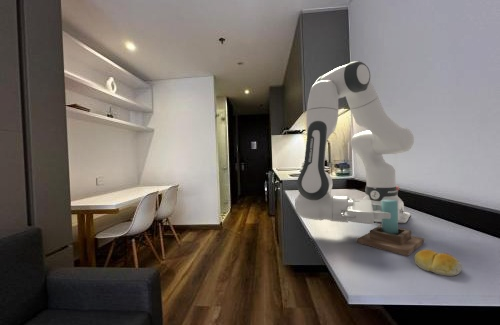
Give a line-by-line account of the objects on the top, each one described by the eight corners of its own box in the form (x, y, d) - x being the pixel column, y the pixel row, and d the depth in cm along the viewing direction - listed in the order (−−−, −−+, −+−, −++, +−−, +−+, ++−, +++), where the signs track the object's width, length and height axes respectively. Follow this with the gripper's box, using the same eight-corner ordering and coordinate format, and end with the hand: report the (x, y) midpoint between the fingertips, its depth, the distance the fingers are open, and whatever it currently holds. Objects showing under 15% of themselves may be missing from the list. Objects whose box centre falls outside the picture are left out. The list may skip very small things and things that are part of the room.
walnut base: (377, 232, 85) (376, 221, 85) (423, 243, 74) (423, 230, 74) (358, 242, 76) (357, 230, 76) (407, 256, 65) (407, 241, 65)
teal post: (384, 235, 78) (383, 199, 78) (399, 237, 75) (398, 200, 75) (380, 238, 75) (379, 201, 75) (396, 241, 72) (395, 202, 72)
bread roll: (422, 257, 65) (422, 243, 64) (465, 270, 57) (465, 254, 57) (407, 265, 60) (407, 250, 60) (451, 281, 53) (451, 263, 52)
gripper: (339, 206, 71) (392, 209, 65) (344, 195, 90) (386, 196, 84) (340, 226, 72) (392, 231, 66) (345, 211, 90) (386, 214, 84)
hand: (389, 211), depth 75 cm, fingers open, 8 cm apart
